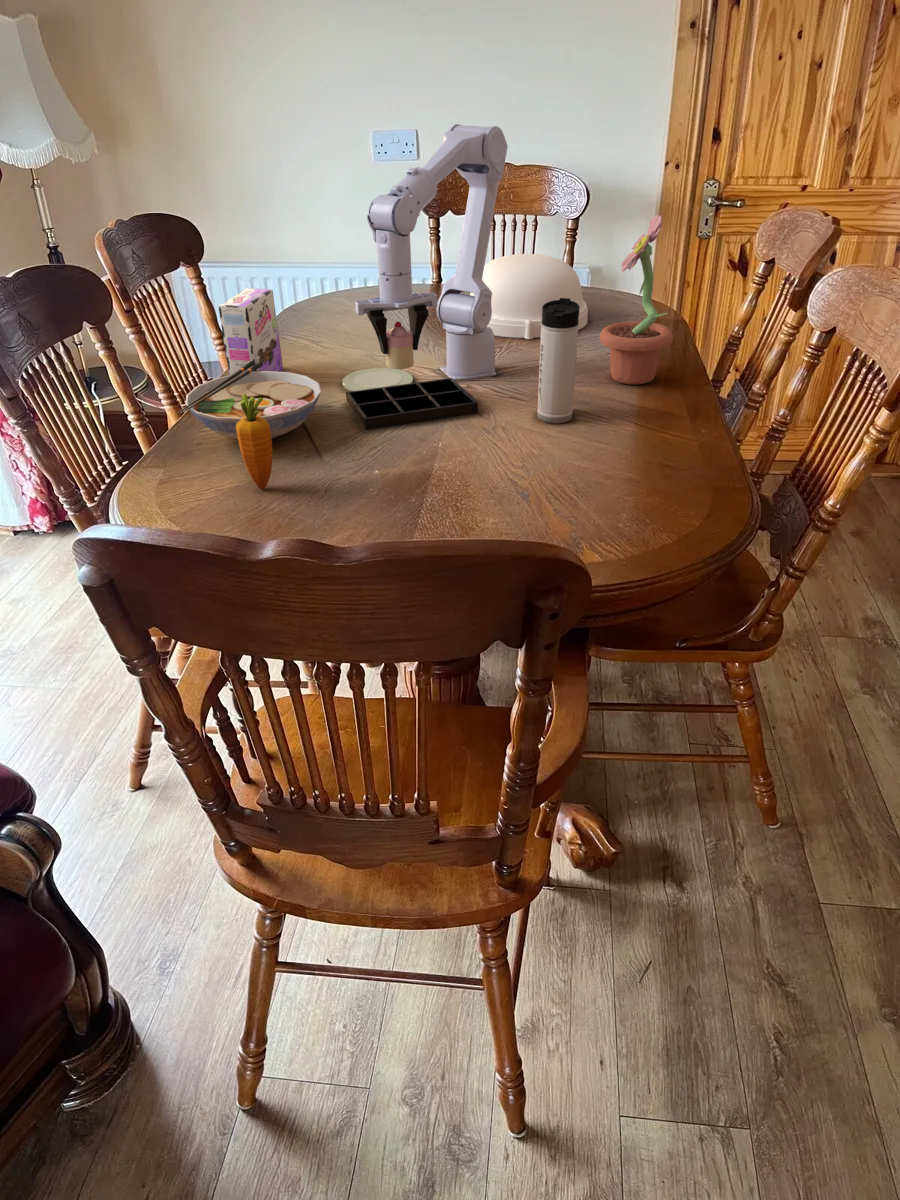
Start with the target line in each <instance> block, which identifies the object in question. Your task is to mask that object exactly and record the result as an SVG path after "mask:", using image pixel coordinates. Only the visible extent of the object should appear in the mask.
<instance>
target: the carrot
mask: <svg viewBox="0 0 900 1200" xmlns="http://www.w3.org/2000/svg"><path fill="white" fill-rule="evenodd" d="M262 400H263V398H261V397H260V398H259V399H258V400H257V401H256V403H255V398H254V397H250V400H249V401H248V398H247V395H246V394H243V395H242V401H241V402H240V404H241V407H242V409H243V411H244V413H245V415H246V417H244V418H243V419H241V420H240V421H239V422H238V423H237V424H236V432H237V437H238V439H237V442H238V447H239V451H240V454H241V457H242V460H243V463H244V465H245V467H246V471H247V472H248V474H249V476H250V478H251V479H252V481H253V482H254V484H255V485H256V486H257V487H258V489H260V490H261V491H263V490H265V488H266V487H267V485H268V483H269V480H270V478H271V473H272V469H273V452H274V451H273V441H272V440H273V439H271V431H270V425H269V423H268V422H267V421H266V420H265V418H263V417H260V416H257V414H258V413H259V411H258V410H256V409H257V407H258V405H259V404H260V402H261V401H262ZM254 403H255V405H254Z"/></svg>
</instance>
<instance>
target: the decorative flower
mask: <svg viewBox="0 0 900 1200" xmlns="http://www.w3.org/2000/svg"><path fill="white" fill-rule="evenodd" d="M662 226H663V221H662V215H659V214H657V215H654V216H653V217H652V218H651V219H650V220H649V225H648V230H647V233H646V234H645V233H642V234H641V236H640V237H639V238H638V239H637V240H636V241H635V243H634V244H633V246H632V247H631V250H633V251H632V252H630V253H629V254H627V256H626V257H625V259H624V260H623V261H622V263H621V265H620V266H621V269H620V270H621V272H625V271H626V270H627V269H628V270H629V271H630V270H631V269H632V268H634V267H635V266H636V265H637V263H638V260H640V263H641V267H642V268H641V269H642V274H643V281H642V284H641V286H640V290H639V296H640V295H641V294H642V299H641V305H642V308H643V310H644V312H645V314H646V315H647V316H646V317H645V318H644V319H643V320H629V321H622V322H616V323H612V324H609V325H606V326H604V327H603V328H602V330H601V332H600V334H599V342H600V344H602V345H603V346H604V347H607V348H609V349H610V350H609V352H610V353H609V354H610V355H609V356H610V357H609V358H610V359H609V360H610V361H609V363H610V364H609V365H610V368H609V369H610V371H609V372H610V376H611V378H612V379H613V380H614V381H615V382H617V383H620V384H624V385H644V384H647V383H650V382H652V381H653V380H654V379H655V378H656V374H657V369H658V364H659V357H660V353H661V349H665V348H668V347H669V346H670V345H671V344H673V343H674V342H673V341H674V334H673V332H672V329H670V328H669V327H668V326H666V325H663V324H661V323H658V322H657V323H656V321H657V319H658V318H659V317H663V316H665V315H668V314H669V313H668V312H663V313H658V311H657V309H656V308H655V307H654V305H653V303H652V297H653V289H654V288H653V287H654V270H653V265H652V260H651V256H652V255H653V247H652V245H650V244H651V243H653V242H654V241H655V240H657V238H658V236H659V233H660V232H661V227H662Z"/></svg>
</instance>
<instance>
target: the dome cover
mask: <svg viewBox="0 0 900 1200" xmlns="http://www.w3.org/2000/svg"><path fill="white" fill-rule="evenodd" d="M482 280H483V282H484V283H485V284H486V285H487V287H488V288H489V289H490V290H491V292H492V298H491V307H492V316H491V320H490V322H489V324H488V325H487V327H490V328H491V329H492V331H493V333H494V337H501V338H502V337H504V338H516V339H517V338H518V339H523V338H524V339H526V340H533V339H535V338H536V339H538V338H541V327H542V326H541V323H542V307H543V305H544V304H545V303H547V302H550V301H554V300H559V299H560V298H568V299H570V301H573V302H576V303H577V304H578V305H579V318H578V320H579V322H578V323H579V326H578V331H579V330H581V329H583V328H584V327H586V325H587V324H588V320H589V319H588V318H589V315H588V311H589V309H588V306H587V305H588V304H587V302H586V301H585V300H584V298H583V291H582V290H583V289H582V285H581V281H580V277H579V275H578V274H577V272H576V270H575V269H574V268H573V267H572V266H571V265H570V264H569V263H567V262H566V261H564V260H562V259H560V258H557V257H554V256H550V255H545V254H537V253H517V254H510V255H504V256H500V257H497V258H494V259H492V260H489V261H488V262H487V263H485V266H484V272H483V277H482ZM469 295H471V296H475V295H474V294H473V293H469Z"/></svg>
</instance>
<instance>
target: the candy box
mask: <svg viewBox="0 0 900 1200" xmlns="http://www.w3.org/2000/svg"><path fill="white" fill-rule="evenodd" d="M275 304H276V303H275V298H274V290H273V289H272V288H245V289H244V290H243V291H241V292H239V293H238V294H236V295H235V296H233V297H231V298H230V299H228V300H226V301H224V302H223V303H221V304H218V305H217V307H218V313H219V320H220V326H221V332H222V338H223V345H224V351H225V356H226V357H225V358H226V363H227V369H228V376H229V375H232V374H233V373H235V372H236V371H238V370H239V369H241V368H242V367H243V366H245V365H246V364H248V363H249V362H251V361H254V365H256V364H257V363H259V362H262V363H263V366H261V367H260V368H258V369H256V370H255V371H253V372H260V371H273V372H283V370H284V365H283V357H282V350H281V343H280V334H279V328H278V327H279V326H278V320H277V313H276V305H275ZM254 365H253V366H254ZM253 366H252V367H253ZM250 368H251V367H250ZM247 370H248V369H247ZM245 371H246V370H245ZM245 371H243V372H245ZM243 372H242V373H243Z"/></svg>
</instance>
